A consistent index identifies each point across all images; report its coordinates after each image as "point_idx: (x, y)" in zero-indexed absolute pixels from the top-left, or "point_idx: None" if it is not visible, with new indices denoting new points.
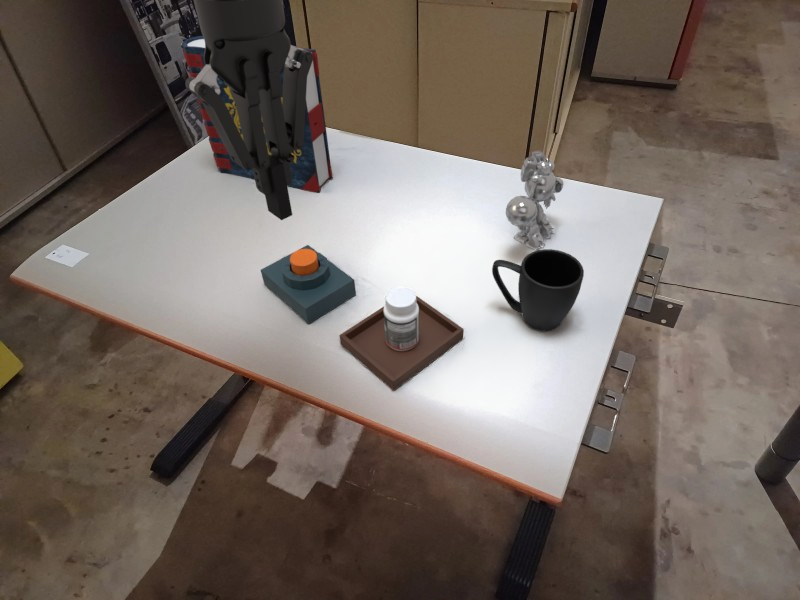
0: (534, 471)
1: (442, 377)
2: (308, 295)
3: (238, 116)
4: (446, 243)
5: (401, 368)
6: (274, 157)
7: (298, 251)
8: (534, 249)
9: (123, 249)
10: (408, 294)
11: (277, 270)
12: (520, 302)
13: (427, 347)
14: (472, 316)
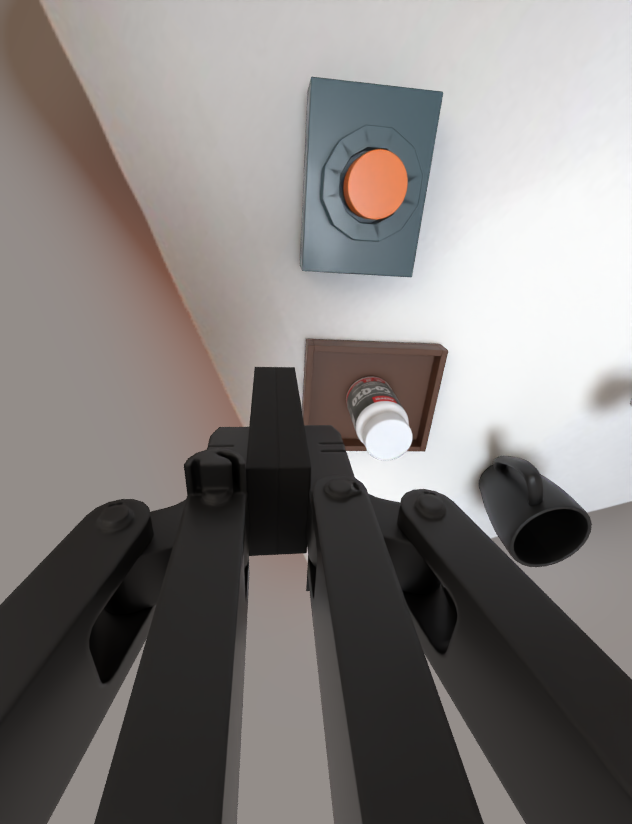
0: None
1: (354, 461)
2: (328, 245)
3: (107, 781)
4: (595, 291)
5: None
6: (308, 510)
7: (385, 156)
8: (630, 402)
9: None
10: (399, 445)
11: (336, 118)
12: (497, 484)
13: None
14: (460, 425)
